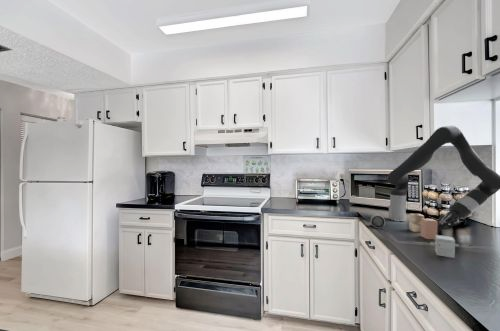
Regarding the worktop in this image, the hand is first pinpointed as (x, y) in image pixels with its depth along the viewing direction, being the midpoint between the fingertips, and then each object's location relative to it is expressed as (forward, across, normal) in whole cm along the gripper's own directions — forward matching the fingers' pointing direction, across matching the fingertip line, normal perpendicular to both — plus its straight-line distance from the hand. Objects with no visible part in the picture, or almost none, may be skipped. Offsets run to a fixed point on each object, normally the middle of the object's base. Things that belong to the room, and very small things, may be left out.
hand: (435, 230), depth 124 cm
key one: (+5, -12, 0) cm, 13 cm away
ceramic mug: (+19, -23, -11) cm, 32 cm away
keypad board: (+4, -6, +4) cm, 8 cm away
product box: (+8, +20, -1) cm, 22 cm away
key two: (+5, 0, 0) cm, 5 cm away
